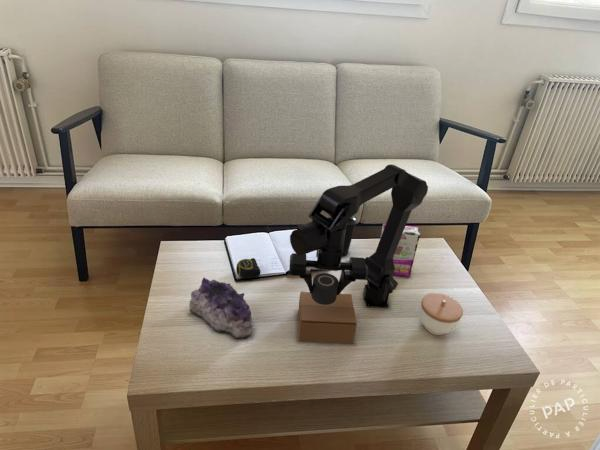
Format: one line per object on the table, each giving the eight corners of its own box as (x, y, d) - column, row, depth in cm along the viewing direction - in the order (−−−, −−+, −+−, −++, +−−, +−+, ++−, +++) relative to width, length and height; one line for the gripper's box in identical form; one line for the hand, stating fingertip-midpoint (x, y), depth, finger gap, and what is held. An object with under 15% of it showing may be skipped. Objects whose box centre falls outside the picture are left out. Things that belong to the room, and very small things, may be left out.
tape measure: (260, 279, 126) (261, 269, 125) (238, 282, 124) (238, 272, 122) (255, 266, 132) (256, 256, 130) (234, 268, 130) (234, 258, 128)
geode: (267, 322, 111) (267, 297, 105) (237, 351, 103) (234, 325, 97) (215, 287, 120) (211, 262, 114) (183, 311, 113) (178, 285, 107)
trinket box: (449, 347, 108) (459, 321, 103) (410, 329, 112) (418, 303, 108) (459, 324, 116) (469, 298, 111) (422, 308, 121) (430, 283, 116)
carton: (298, 341, 106) (301, 320, 102) (298, 311, 115) (300, 291, 112) (352, 343, 106) (357, 322, 103) (347, 314, 116) (351, 294, 112)
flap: (300, 306, 107) (300, 305, 107) (300, 292, 112) (300, 291, 111) (353, 308, 108) (353, 307, 108) (351, 295, 112) (351, 294, 112)
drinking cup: (326, 255, 140) (333, 203, 130) (333, 244, 146) (340, 193, 136) (348, 261, 138) (356, 209, 128) (354, 250, 144) (363, 199, 134)
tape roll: (335, 289, 108) (337, 273, 105) (337, 305, 102) (339, 289, 100) (311, 287, 108) (312, 271, 105) (311, 304, 102) (313, 287, 99)
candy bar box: (407, 268, 137) (418, 226, 129) (409, 277, 133) (421, 234, 125) (374, 264, 138) (383, 222, 130) (374, 273, 134) (384, 230, 125)
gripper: (366, 226, 104) (357, 276, 112) (292, 221, 103) (288, 271, 111) (373, 251, 94) (362, 303, 102) (291, 246, 93) (287, 299, 101)
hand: (324, 293), depth 104 cm, fingers closed on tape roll, 6 cm apart
